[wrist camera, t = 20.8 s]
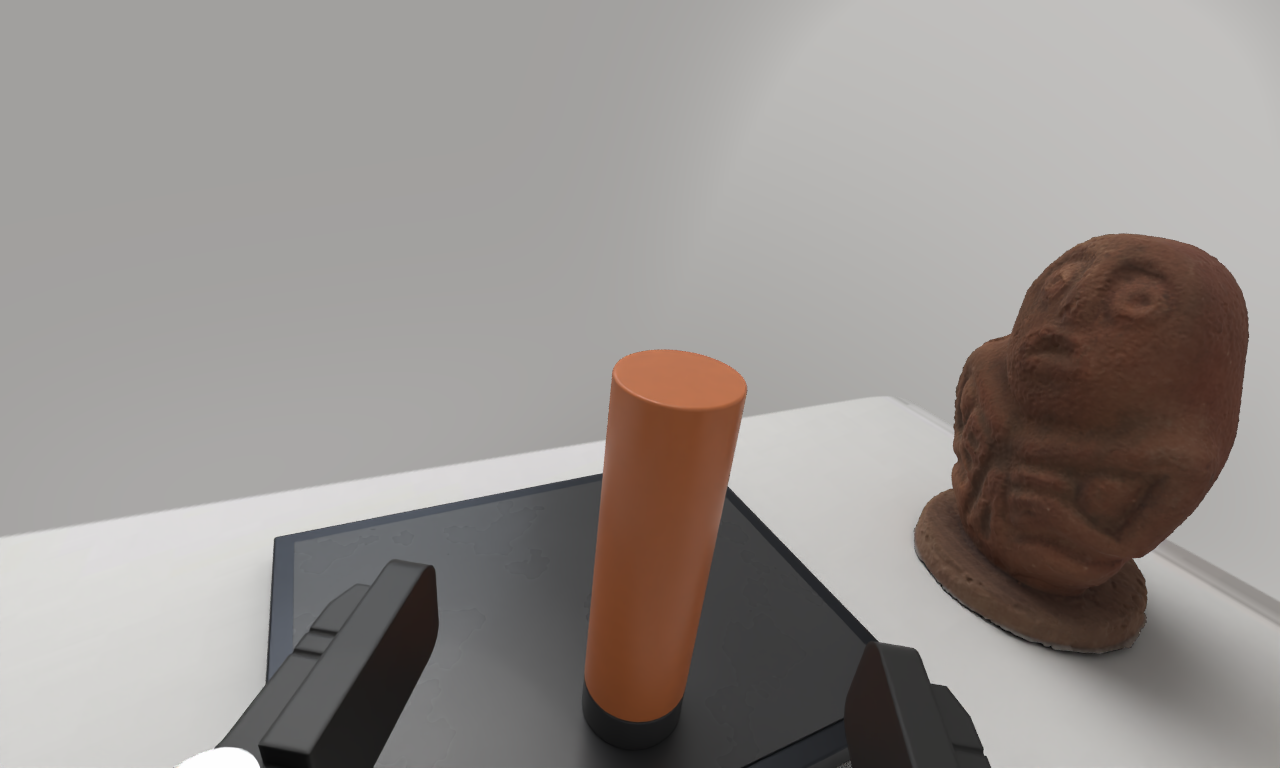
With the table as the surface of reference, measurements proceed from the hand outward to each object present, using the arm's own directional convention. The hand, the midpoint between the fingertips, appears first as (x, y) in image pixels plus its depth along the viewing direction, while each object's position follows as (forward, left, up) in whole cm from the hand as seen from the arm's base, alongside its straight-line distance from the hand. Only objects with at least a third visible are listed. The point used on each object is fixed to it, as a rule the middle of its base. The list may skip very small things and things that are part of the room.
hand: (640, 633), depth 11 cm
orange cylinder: (-2, +4, -8) cm, 9 cm away
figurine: (+6, +21, -9) cm, 24 cm away
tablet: (-6, +5, -9) cm, 12 cm away
